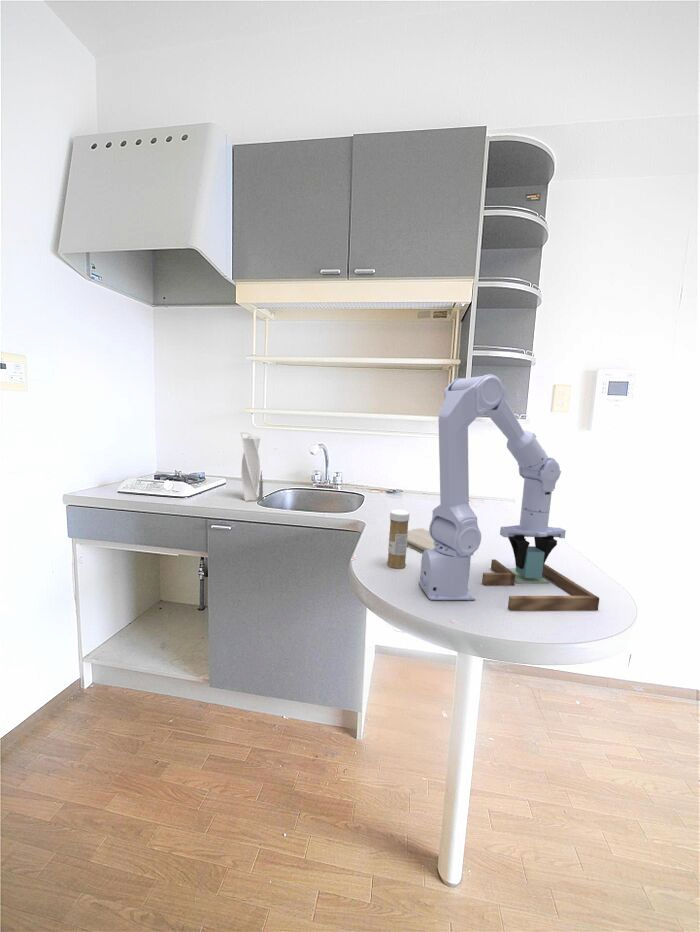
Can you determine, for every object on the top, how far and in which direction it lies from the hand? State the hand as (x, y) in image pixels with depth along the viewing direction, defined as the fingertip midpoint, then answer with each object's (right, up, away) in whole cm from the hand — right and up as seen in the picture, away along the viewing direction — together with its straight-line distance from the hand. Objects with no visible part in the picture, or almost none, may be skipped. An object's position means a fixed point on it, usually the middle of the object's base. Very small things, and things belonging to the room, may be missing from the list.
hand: (528, 567), depth 86 cm
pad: (0, -3, +2) cm, 3 cm away
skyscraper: (-82, +9, +69) cm, 108 cm away
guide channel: (-3, -3, -4) cm, 6 cm away
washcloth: (-20, 0, +22) cm, 29 cm away
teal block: (0, -2, 0) cm, 2 cm away
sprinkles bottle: (-30, -1, +5) cm, 30 cm away
